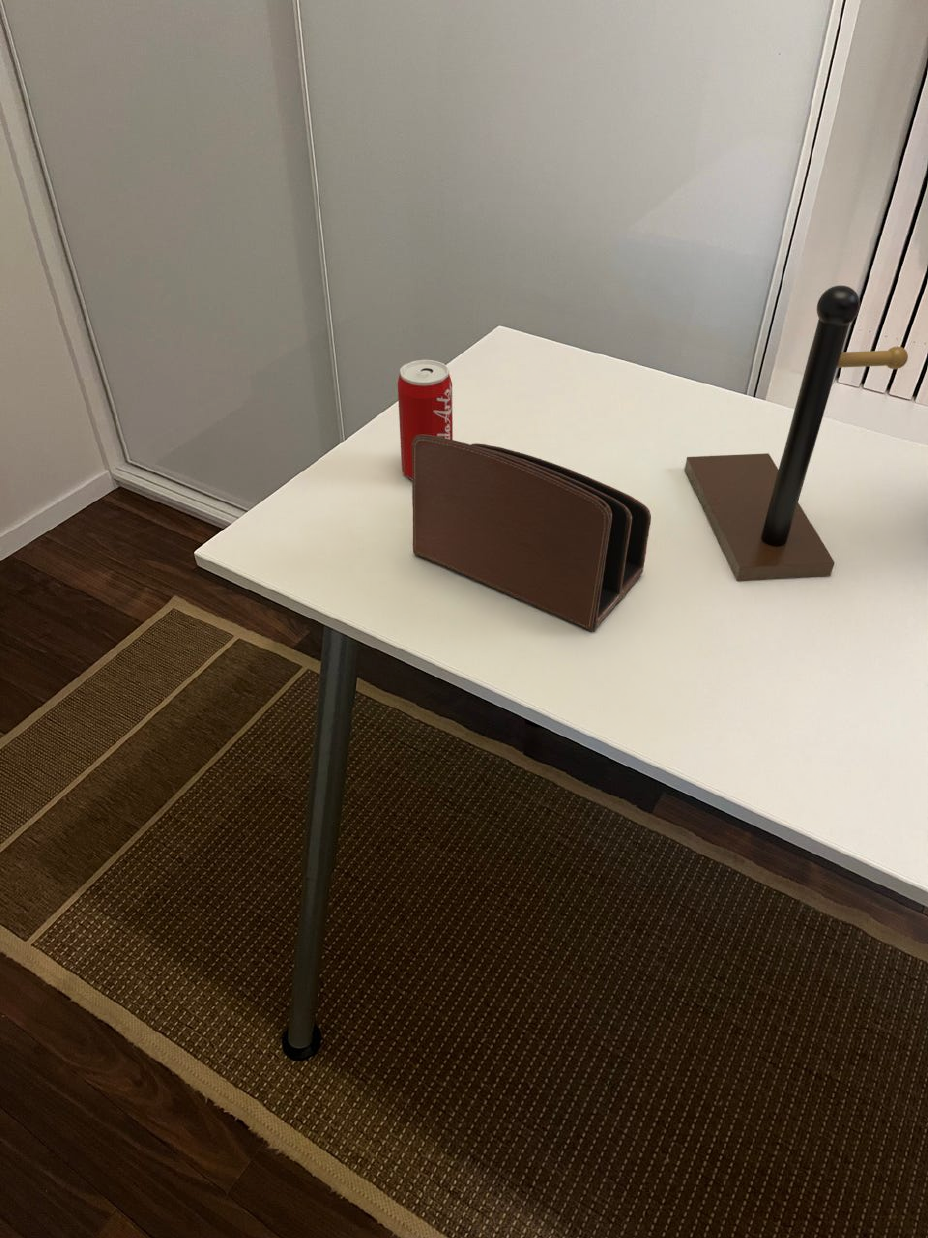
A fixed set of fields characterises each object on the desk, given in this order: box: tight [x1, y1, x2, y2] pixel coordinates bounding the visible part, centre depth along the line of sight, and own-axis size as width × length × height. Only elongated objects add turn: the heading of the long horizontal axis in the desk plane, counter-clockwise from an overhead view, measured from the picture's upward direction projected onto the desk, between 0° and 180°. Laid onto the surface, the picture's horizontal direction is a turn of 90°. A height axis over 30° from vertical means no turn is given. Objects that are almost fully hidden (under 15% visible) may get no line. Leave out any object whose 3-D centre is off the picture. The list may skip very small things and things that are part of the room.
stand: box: [684, 285, 909, 582], centre depth 86 cm, size 12×19×26 cm, turn 5°
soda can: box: [397, 359, 454, 480], centre depth 97 cm, size 6×6×12 cm
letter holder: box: [411, 434, 652, 633], centre depth 85 cm, size 10×20×14 cm, turn 56°
